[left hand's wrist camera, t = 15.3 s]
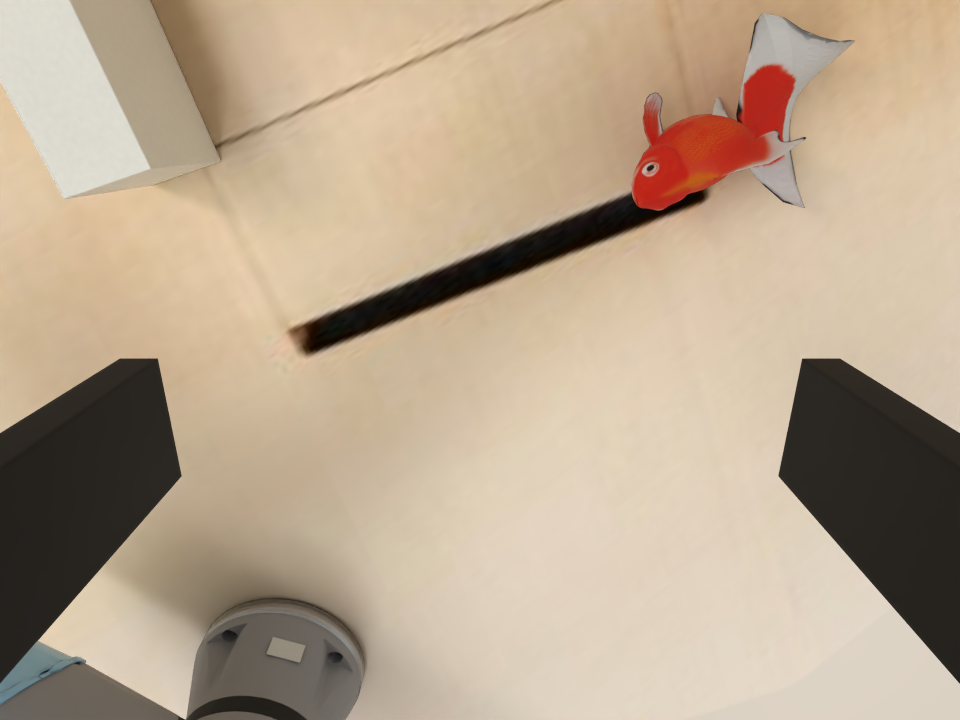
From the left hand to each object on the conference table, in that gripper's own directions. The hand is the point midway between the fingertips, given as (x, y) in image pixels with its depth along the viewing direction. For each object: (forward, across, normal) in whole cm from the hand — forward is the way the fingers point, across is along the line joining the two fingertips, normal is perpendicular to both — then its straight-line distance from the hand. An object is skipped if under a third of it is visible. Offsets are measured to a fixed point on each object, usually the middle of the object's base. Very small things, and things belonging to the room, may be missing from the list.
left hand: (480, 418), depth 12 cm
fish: (+32, -16, -6) cm, 36 cm away
